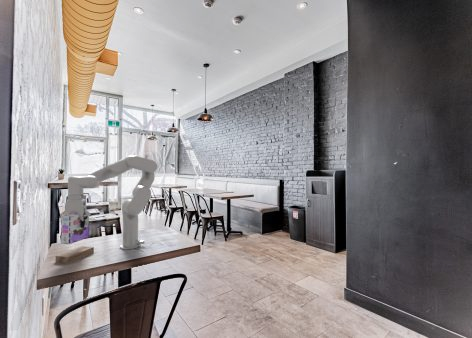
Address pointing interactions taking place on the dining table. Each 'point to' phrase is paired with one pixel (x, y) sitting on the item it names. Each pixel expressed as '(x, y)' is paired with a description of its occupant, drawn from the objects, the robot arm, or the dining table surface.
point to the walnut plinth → (74, 254)
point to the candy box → (73, 228)
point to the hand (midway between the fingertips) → (75, 227)
